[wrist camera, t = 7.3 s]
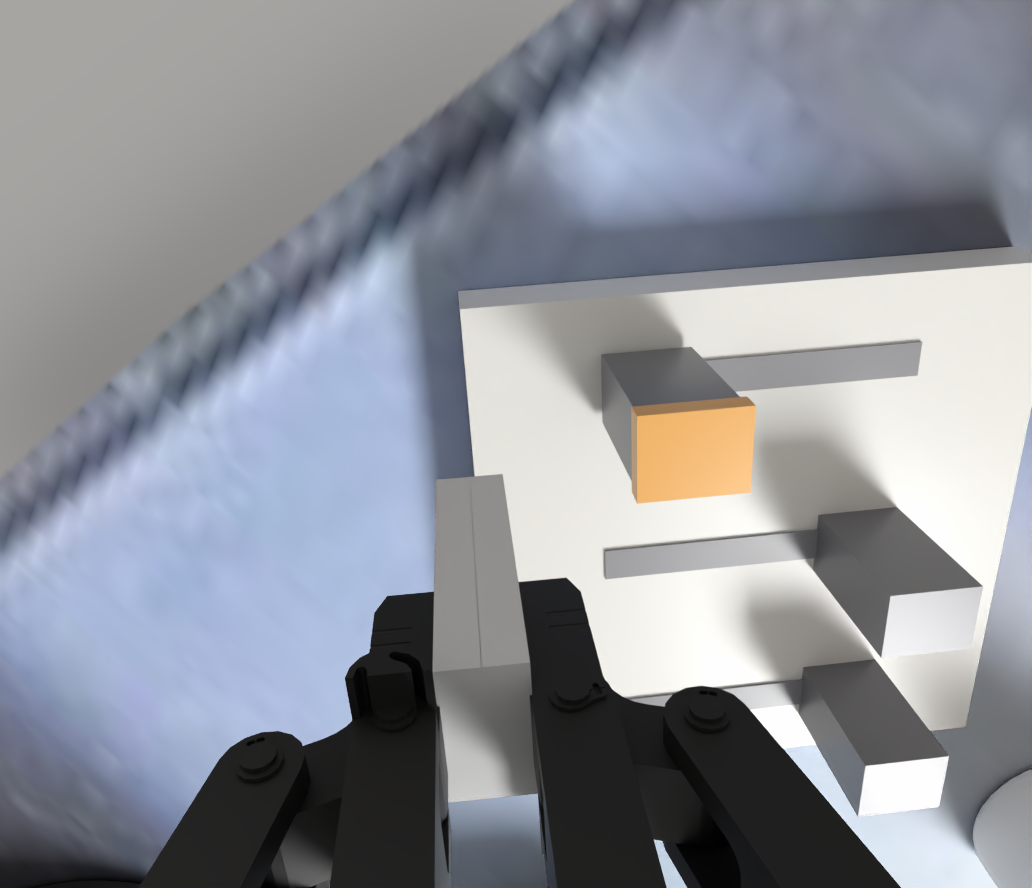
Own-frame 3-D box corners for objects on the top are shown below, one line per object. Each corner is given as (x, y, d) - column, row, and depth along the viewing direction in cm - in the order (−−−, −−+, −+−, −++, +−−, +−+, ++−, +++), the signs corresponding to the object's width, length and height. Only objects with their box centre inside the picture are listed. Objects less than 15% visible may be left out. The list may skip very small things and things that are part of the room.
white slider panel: (497, 737, 37) (512, 894, 30) (457, 290, 29) (465, 360, 22) (933, 688, 38) (1049, 828, 31) (1013, 246, 30) (1195, 298, 23)
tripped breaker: (599, 425, 28) (637, 503, 23) (597, 351, 27) (636, 416, 22) (692, 416, 28) (750, 492, 23) (694, 343, 27) (755, 405, 22)
